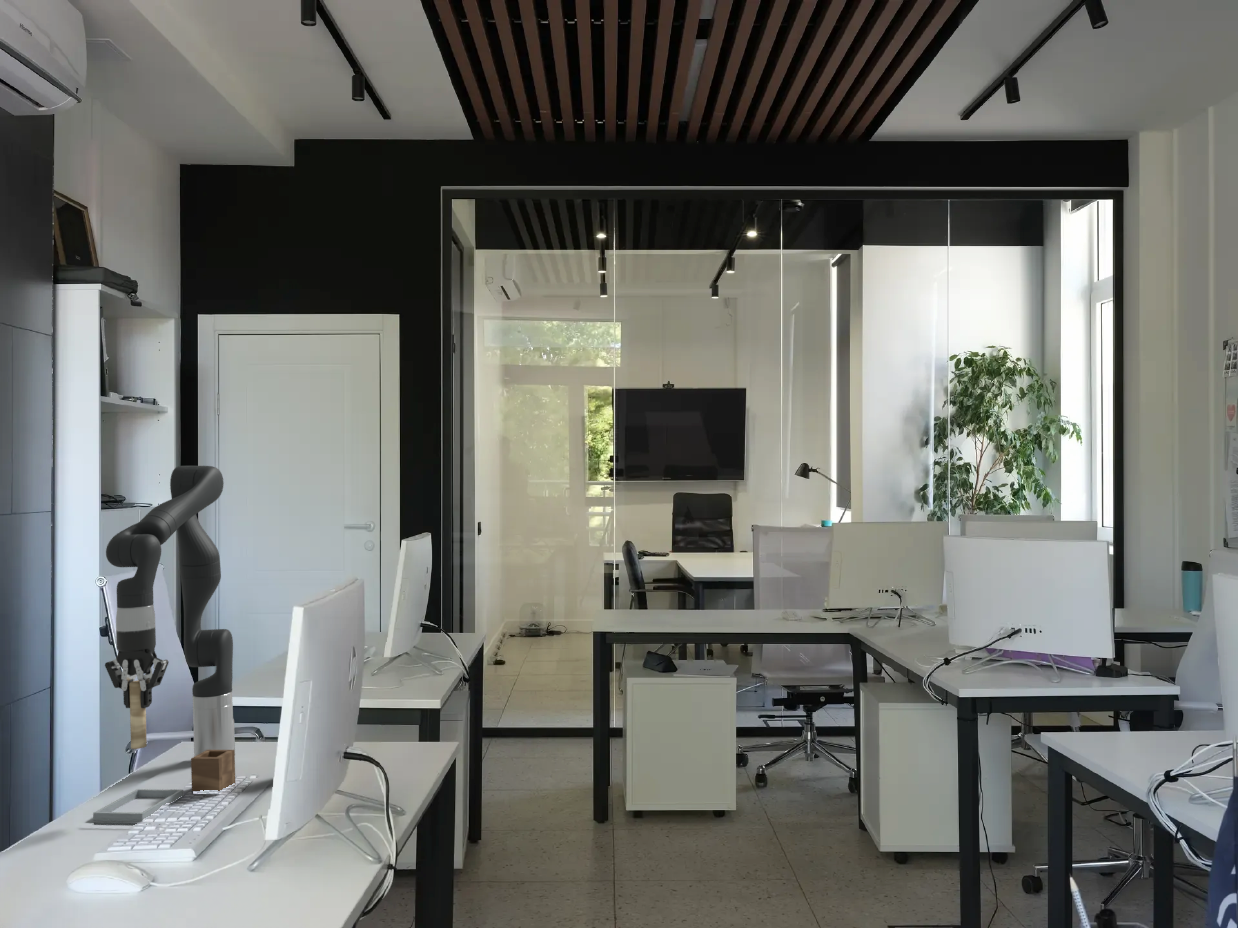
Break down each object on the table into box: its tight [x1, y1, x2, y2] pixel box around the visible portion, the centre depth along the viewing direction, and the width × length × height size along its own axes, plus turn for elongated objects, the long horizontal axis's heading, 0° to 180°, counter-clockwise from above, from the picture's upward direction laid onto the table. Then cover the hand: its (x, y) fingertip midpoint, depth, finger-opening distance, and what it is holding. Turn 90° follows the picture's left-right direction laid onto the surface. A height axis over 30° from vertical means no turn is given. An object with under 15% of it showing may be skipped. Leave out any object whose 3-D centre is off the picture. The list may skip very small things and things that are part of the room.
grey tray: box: [92, 788, 184, 827], centre depth 199 cm, size 14×11×2 cm
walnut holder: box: [190, 749, 236, 792], centre depth 209 cm, size 7×7×9 cm
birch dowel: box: [129, 679, 148, 750], centre depth 199 cm, size 3×3×14 cm
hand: (137, 706), depth 199 cm, fingers closed on birch dowel, 3 cm apart
